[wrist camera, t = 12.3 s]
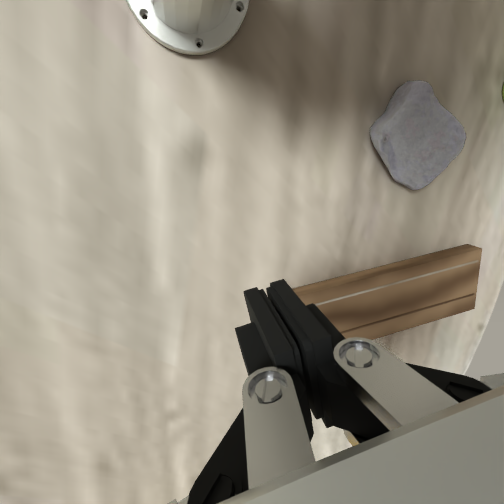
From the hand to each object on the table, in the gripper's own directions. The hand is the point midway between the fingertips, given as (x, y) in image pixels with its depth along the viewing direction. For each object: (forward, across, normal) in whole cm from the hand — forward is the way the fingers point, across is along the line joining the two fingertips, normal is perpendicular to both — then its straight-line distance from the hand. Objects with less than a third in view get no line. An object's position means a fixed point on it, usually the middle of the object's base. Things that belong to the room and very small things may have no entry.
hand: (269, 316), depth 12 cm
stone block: (+27, -28, -2) cm, 39 cm away
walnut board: (+26, -23, +21) cm, 41 cm away
